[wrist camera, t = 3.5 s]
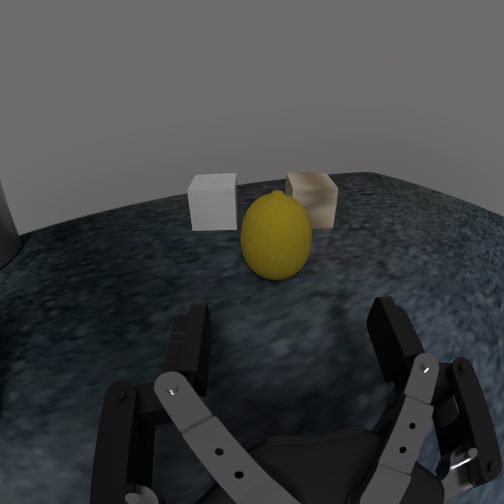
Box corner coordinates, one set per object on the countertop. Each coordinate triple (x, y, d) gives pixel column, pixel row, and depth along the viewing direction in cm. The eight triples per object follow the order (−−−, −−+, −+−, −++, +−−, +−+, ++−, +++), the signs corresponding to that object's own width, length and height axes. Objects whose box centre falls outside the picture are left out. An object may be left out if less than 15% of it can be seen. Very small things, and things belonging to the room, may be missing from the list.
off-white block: (192, 231, 31) (187, 190, 28) (199, 211, 35) (195, 175, 32) (236, 230, 31) (234, 188, 28) (237, 210, 35) (236, 173, 32)
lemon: (271, 252, 27) (273, 173, 22) (318, 277, 24) (331, 192, 19) (229, 278, 24) (222, 191, 19) (277, 311, 21) (283, 216, 16)
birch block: (290, 229, 31) (292, 187, 28) (284, 209, 35) (286, 172, 32) (332, 228, 31) (338, 188, 28) (322, 209, 35) (326, 173, 32)
